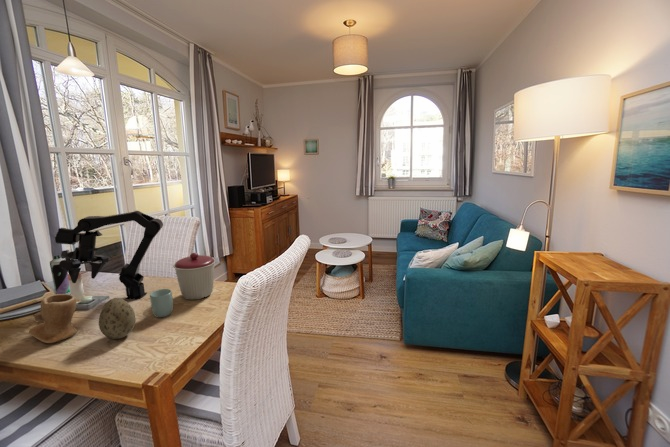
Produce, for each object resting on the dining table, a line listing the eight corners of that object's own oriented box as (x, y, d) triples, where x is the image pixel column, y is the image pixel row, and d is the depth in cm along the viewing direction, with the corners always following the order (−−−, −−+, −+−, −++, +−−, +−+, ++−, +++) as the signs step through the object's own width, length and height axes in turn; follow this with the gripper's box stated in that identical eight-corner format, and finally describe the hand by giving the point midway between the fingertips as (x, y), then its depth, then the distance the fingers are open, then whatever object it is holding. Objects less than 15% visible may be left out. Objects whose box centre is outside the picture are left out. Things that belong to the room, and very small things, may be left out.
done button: (94, 299, 135) (94, 296, 135) (87, 303, 131) (87, 300, 131) (85, 299, 135) (85, 296, 135) (78, 303, 131) (77, 300, 131)
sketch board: (109, 297, 142) (108, 293, 142) (89, 309, 130) (88, 305, 130) (75, 297, 142) (74, 293, 142) (51, 309, 130) (50, 305, 130)
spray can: (62, 299, 140) (54, 257, 136) (53, 298, 141) (45, 256, 137) (74, 294, 145) (67, 254, 141) (65, 293, 146) (58, 253, 142)
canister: (172, 294, 146) (167, 252, 142) (210, 284, 158) (207, 245, 153) (182, 307, 133) (177, 262, 128) (223, 296, 144) (220, 253, 140)
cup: (176, 314, 127) (174, 292, 125) (156, 321, 121) (153, 298, 119) (169, 308, 132) (167, 287, 130) (149, 315, 126) (147, 292, 124)
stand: (68, 313, 127) (66, 306, 127) (52, 321, 121) (51, 314, 120) (51, 313, 127) (49, 306, 127) (35, 321, 121) (33, 314, 120)
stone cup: (87, 332, 114) (81, 295, 110) (46, 349, 103) (37, 308, 100) (68, 321, 121) (62, 286, 118) (28, 336, 110) (20, 298, 107)
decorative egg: (128, 325, 118) (123, 289, 115) (143, 334, 113) (138, 296, 110) (95, 339, 109) (89, 300, 106) (110, 349, 104) (104, 308, 101)
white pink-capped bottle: (87, 296, 140) (83, 272, 138) (79, 301, 136) (75, 276, 133) (77, 296, 140) (73, 272, 138) (69, 301, 136) (64, 276, 133)
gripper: (88, 241, 142) (85, 274, 143) (48, 245, 124) (45, 282, 124) (111, 244, 142) (107, 277, 142) (73, 248, 123) (70, 286, 124)
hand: (83, 280), depth 133 cm, fingers open, 9 cm apart
